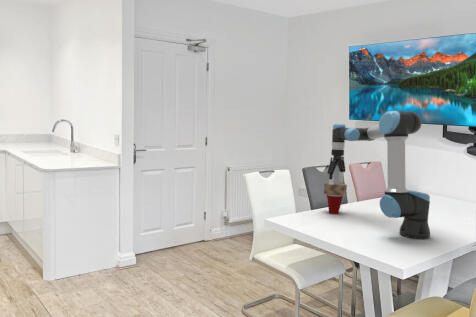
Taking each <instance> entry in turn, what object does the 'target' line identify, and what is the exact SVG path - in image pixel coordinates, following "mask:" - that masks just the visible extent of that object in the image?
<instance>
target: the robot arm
mask: <svg viewBox="0 0 476 317" xmlns="http://www.w3.org/2000/svg"><path fill="white" fill-rule="evenodd" d="M422 122H423V121H422V118H421V116H420V115H419V114H418V113H416V112H414V111H404V110H390V111H386V112H384V113H383V114H382V116H381V117H380V119H379V123H378V124H377V125H373V126H369V127H362V128H361V127H346V124H345V123H334V124H333V125H332V132H331V133H332V134H331V135H332V136H331V139H332V140H331V148H332V149H331V152H330V153H331V156H333V157H330V162H329V165H328V169H327V174H328V176H329V177H328V183H329V184H330V185H333V184H335V180H334V178H335V174H334V173H335V170H336V167H337V166H338V169H339V170H338V171H339V172H338V183H341V184H343V183H344V174H345V173H346V165H345V164H346V163H345V150H344V149H345V142H346V141H349V142H356V141H357V142H358V141H359V142H360V141H363V142H364V141H365V142H367V141H368V142H370V141H375V140H377V139H381V138H384V140H386V145H387V148H386V149H387V152H386V153H387V155H386V156H387V159H386V160H387V187H386V188H385V190H384V194H383V195H382V196H381V197H380V199H379V208H380V210H381V212H382V214H384V216H385V217H387V218H390V219H391V218H392V219H394V218H395V219H398V218H403V220H402V223H401V225H400V226H399V230H398V232H399V235H401V236H403V237H406V238H410V239H417V240H428V239H430V238H431V230H430V226H429V213H430V205H431V204H430V203H431V201H430V198H431V197H430V194H428V193H426V192H422V191H421V192H420V191H417V190H411V189H410V190H409V189H407V187H406V140H408V139H409V135H412V134H416V133H417V132H419V130H420V129H421V127H422V124H423V123H422Z"/></svg>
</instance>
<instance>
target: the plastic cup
mask: <svg viewBox="0 0 476 317" xmlns="http://www.w3.org/2000/svg"><path fill="white" fill-rule="evenodd" d="M325 195H326V198H327V207H328V212H329V214H331V215H332V214H334V215H338V214H339V212H340V209H341V204H342V201H343V198H344V196H345V195H333V194H325Z"/></svg>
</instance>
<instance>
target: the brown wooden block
mask: <svg viewBox="0 0 476 317" xmlns="http://www.w3.org/2000/svg"><path fill="white" fill-rule="evenodd" d="M323 186H324V188H323V194H324V195H326V194H333V195H344V196H346V195H347V192H348V191H347V190H348V188H347V187H348V185H347V184H346V183H345V184H343V183H334V184H333V185H330V184H329V182H326V183H324V185H323Z"/></svg>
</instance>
